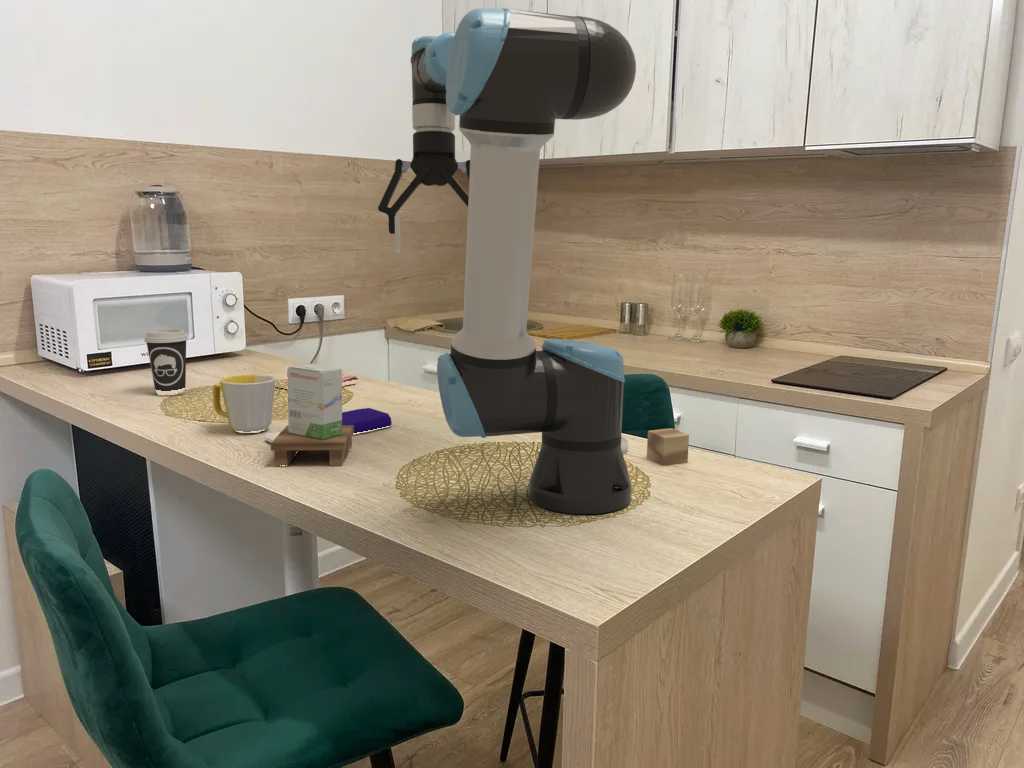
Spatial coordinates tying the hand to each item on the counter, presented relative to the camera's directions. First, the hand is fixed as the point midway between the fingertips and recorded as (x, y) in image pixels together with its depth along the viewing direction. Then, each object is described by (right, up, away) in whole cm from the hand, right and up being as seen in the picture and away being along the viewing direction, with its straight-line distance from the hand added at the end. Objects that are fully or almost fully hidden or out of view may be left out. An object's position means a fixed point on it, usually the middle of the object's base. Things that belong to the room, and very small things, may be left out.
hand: (435, 252), depth 141 cm
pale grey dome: (+31, -36, -2) cm, 47 cm away
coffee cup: (-68, -27, +43) cm, 84 cm away
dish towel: (-39, -25, +56) cm, 73 cm away
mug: (-38, -33, +10) cm, 52 cm away
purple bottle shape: (-22, -34, +8) cm, 41 cm away
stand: (-20, -37, -7) cm, 42 cm away
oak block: (+41, -37, -8) cm, 56 cm away
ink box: (-20, -33, -8) cm, 39 cm away
